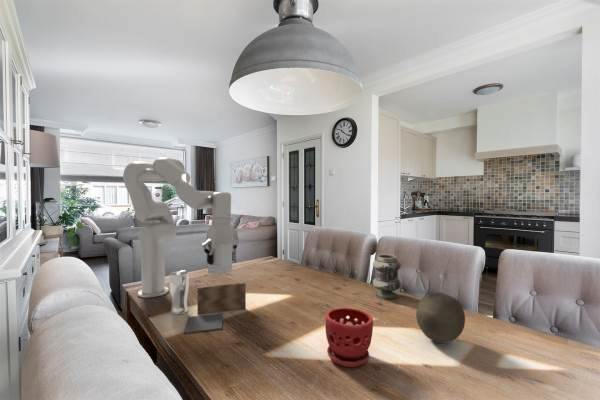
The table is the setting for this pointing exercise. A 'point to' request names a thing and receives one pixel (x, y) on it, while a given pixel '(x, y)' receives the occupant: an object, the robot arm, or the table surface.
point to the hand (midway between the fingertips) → (220, 262)
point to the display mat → (203, 323)
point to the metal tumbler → (179, 291)
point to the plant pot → (348, 336)
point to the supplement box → (221, 259)
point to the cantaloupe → (440, 317)
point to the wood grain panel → (221, 298)
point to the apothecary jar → (386, 276)
